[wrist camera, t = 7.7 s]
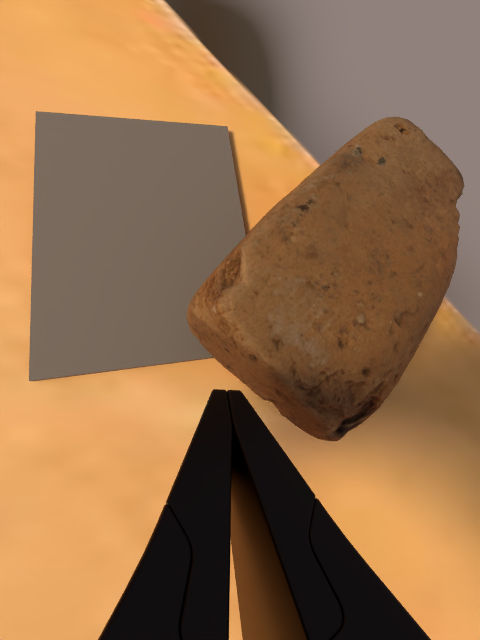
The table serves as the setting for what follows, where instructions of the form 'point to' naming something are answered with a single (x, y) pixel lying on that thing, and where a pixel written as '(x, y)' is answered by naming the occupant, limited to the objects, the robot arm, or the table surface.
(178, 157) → the mat
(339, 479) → the table surface
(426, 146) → the brown pitted rounded part
